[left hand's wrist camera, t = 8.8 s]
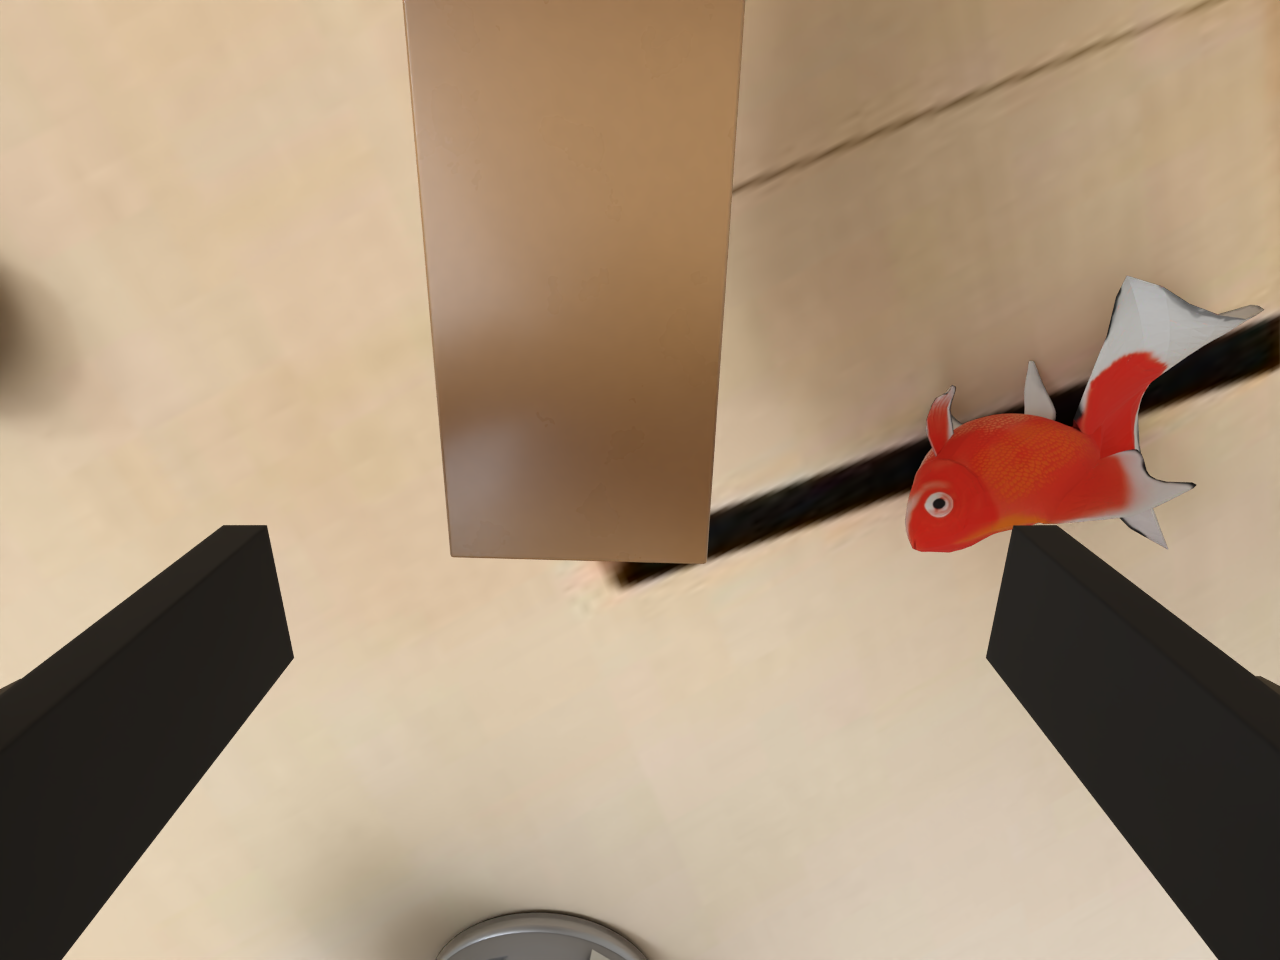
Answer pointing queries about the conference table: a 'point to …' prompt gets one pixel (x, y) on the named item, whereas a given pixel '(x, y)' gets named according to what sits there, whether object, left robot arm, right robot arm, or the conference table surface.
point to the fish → (1063, 438)
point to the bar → (576, 266)
